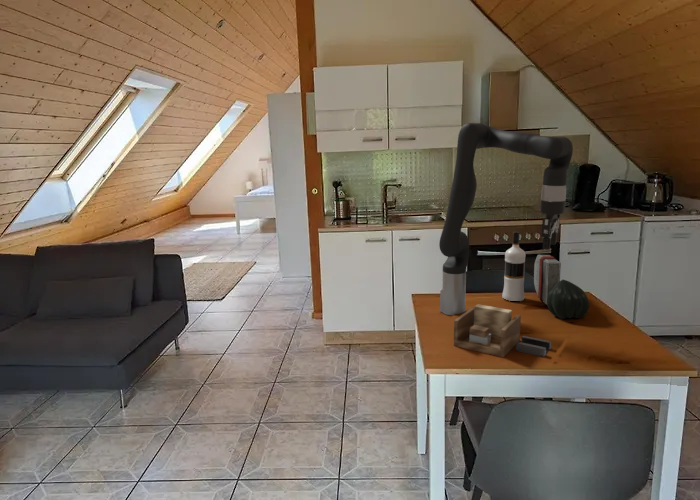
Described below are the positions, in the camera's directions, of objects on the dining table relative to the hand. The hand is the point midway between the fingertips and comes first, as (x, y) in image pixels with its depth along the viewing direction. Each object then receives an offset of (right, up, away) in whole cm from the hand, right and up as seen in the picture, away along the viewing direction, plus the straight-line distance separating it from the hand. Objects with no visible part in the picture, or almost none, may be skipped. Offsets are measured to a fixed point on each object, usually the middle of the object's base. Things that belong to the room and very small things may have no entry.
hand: (549, 246), depth 163 cm
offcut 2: (-24, -31, -2) cm, 39 cm away
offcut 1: (-24, -29, -2) cm, 38 cm away
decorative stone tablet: (+19, -22, +50) cm, 58 cm away
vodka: (+4, -23, +49) cm, 54 cm away
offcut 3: (-24, -33, -1) cm, 41 cm away
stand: (-7, -35, -4) cm, 36 cm away
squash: (+18, -27, +27) cm, 42 cm away
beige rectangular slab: (-18, -32, +5) cm, 37 cm away
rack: (-21, -34, +2) cm, 39 cm away
